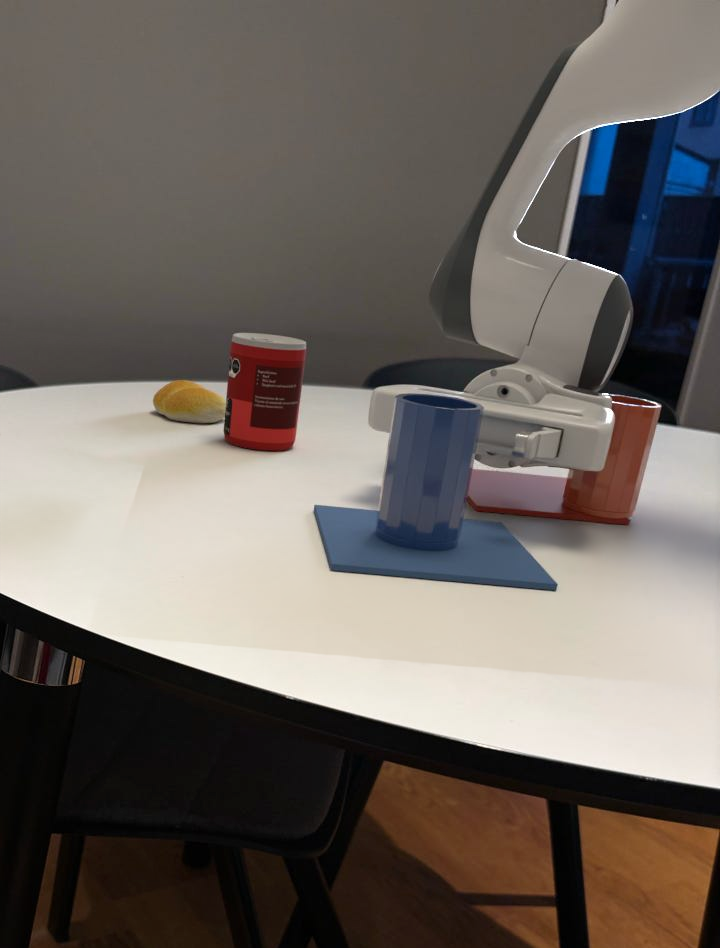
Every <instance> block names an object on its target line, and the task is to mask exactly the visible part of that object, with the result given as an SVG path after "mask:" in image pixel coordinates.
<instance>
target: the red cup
mask: <svg viewBox="0 0 720 948" xmlns="http://www.w3.org/2000/svg"><path fill="white" fill-rule="evenodd" d="M598 393H599V394H602V393H600V392H598ZM603 394H604V395H608V396H610V397H611V398H612V409H611V411H613V413H614V415H615V424H614V428H613V433H612V438H611V442H610V447H609V450H608V454H607V458H606V462H605V466H604V468H603V469H602V470H601V471H597V472H596V471H584V470H573V469H568V473H567V476H566V478H567V482H566V486H565V490H564V495H563V500H562V504H563V505H564V506H565V507H567V508H569V509H571V510H573V511H576V512H580V513H583V514H587V515H592V516H597V517H603V518H613V519H625V518H628V519H630V518H633V517H634V515H635V511H636V508H637V504H638V500H639V496H640V492H641V488H642V484H643V481H644V477H645V473H646V469H647V464H648V462H649V457H650V453H651V449H652V445H653V441H654V437H655V434H656V429H657V426H658V423H659V422H658V421H659V418H660V414H661V410H662V407H663V406H662V404H661V403H658V402H657V401H652V400H648V399H644V398H639V397H633V396H628V395H627V396H626V395H621V394H612V393H603Z"/></svg>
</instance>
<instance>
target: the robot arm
mask: <svg viewBox="0 0 720 948" xmlns="http://www.w3.org/2000/svg"><path fill="white" fill-rule="evenodd" d="M718 92H720V0H618V1H617V2H616V4H615V6H614V7H613V9H612V10H611V11H610V13H609V14H608V15H607V17H606V18H605V19H604V21H603V22H602V23H601V24H600V25H599V26H598V28H597V29H595V31H594V32H593V33H591V34H590V36H588V37H587V38H586V39H584V40H581V41H580V40H579V41H578V42H574V43H571V44H569V45H567V46H566V47H565V48H564V49H563V50H562V51H561V52H560V54H559V55H558V56H557V58H556V59H555V60H554V61H553V63H552V64H551V66H550V67H549V69H548V70H547V72H546V73H545V75H544V77H543V78H542V80H541V81H540V83H539V85H538V87H537V88H536V90H535V91H534V94H533V96H532V97H531V99H530V100H529V103H528V105H527V106H526V108H525V110H524V111H523V113H522V116H521V117H520V119H519V121H518V123H517V125H516V127H515V129H514V130H513V132H512V134H511V136H510V137H509V140H508V142H507V144H506V146H505V148H504V149H503V151H502V153H501V155H500V157H499V159H498V161H497V163H496V165H495V166H494V169H492V170H493V171H492V172H491V174H490V176H489V178H488V180H487V182H486V184H485V186H484V187H483V190H482V192H481V193H480V195H479V197H478V199H477V201H476V203H475V205H474V207H473V208H472V210H471V212H470V214H469V215H468V217H467V219H466V221H465V223H464V224H463V226H462V228H461V229H460V231H459V232H458V234H457V235H456V237H455V238H454V240H453V242H452V244H451V245H450V246H449V248H448V249H447V251H446V254H445V255H444V257H443V258H442V259H441V262H440V264H439V265H438V267H437V269H436V271H435V273H434V276H433V279H432V282H431V285H430V288H429V293H428V303H429V306H430V310H431V312H432V315H433V317H434V319H435V321H436V323H437V325H438V327H439V328H440V330H441V331H442V333H443V334H444V336H445V337H446V338H448V339H452V340H454V341H455V340H456V341H459V342H463V343H467V344H471V345H474V346H478V347H486V348H489V349H490V350H494V351H496V352H499V353H503V354H504V355H506V356H507V355H508V356H510V357H513V358H516V359H519V360H517V362H514V363H511V364H506V365H503V366H499V367H495V368H491V369H488V370H486V371H484V372H481V373H480V374H479V375H477V376H475V377H474V378H473V379H472V380H471V381H470V382H469V383H468V384H467V385H466V386H465V388H464V389H463V390H462V391H458V390H451V389H446V388H440V387H433V386H427V385H419V384H391V385H382V386H378V387H376V388H374V389H373V391H372V393H371V397H370V403H369V408H368V418H367V419H368V421H367V424H368V426H369V428H371V429H372V430H373V431H377V432H382V433H387V434H390V427H391V421H392V414H393V408H394V401H395V396H396V395H399V394H407V393H416V394H431V395H440V396H447V397H453V398H459V399H464V400H468V401H472V402H475V403H478V404H481V405H482V406H483V407H484V411H483V416H482V421H481V427H480V432H479V437H478V443H477V448H476V453H475V459H474V461H476V462H478V463H479V464H482V465H484V466H487V467H491V468H495V469H513V468H516V467H520V468H535V467H548V468H557V469H558V468H559V469H567V470H569V469H573V470H584V471H596V472H597V471H601V470H602V469H603V468H604V466H605V462H606V458H607V454H608V450H609V447H610V442H611V438H612V433H613V428H614V424H615V415H614V413H613V411H611V409H612V398H611V397H610V396H608V395H604V394H605V393H601V394H599V393H600V392H599V391H601V390H602V389H603V388H604V387H605V386H606V384H607V383H608V382H609V380H610V379H611V377H612V376H613V373H614V372H615V370H616V368H617V366H618V363H619V362H620V359H621V357H622V356H623V353H624V350H625V348H626V345H627V343H628V340H629V337H630V333H631V330H632V326H633V320H634V306H633V301H632V298H631V294H630V290H629V287H628V285H627V282H626V281H625V279H624V278H623V276H622V275H621V274H620V273H619V274H618V273H616V272H613V271H610V270H607V269H605V268H602V267H599V266H596V265H593V264H590V263H587V262H583V261H580V260H578V259H576V258H574V259H571V258H569V257H565V256H562V255H559V254H557V253H553V252H550V251H547V250H545V249H544V250H543V249H541V248H539V247H535V246H532V245H528V244H526V243H523V242H522V241H520V240H519V239H518V237H517V230H518V228H519V226H520V225H521V223H522V221H523V219H524V218H525V216H526V214H527V211H528V210H529V208H530V207H531V205H532V202H533V201H534V199H535V197H536V195H537V194H538V193H539V190H540V189H541V186H542V184H543V183H544V181H545V179H546V178H547V176H548V174H549V172H550V170H551V168H552V167H553V165H554V163H555V161H556V159H557V157H559V154H560V153H561V151H562V150H563V149H564V148H565V147H566V145H568V144H569V143H570V142H571V141H573V140H574V139H576V137H578V136H580V135H582V134H584V133H586V132H589V131H590V130H593V129H594V130H595V129H596V128H600V127H604V126H609V125H614V124H621V123H628V122H629V123H630V122H635V121H644V120H651V119H652V120H653V119H658V118H663V117H664V118H665V117H668V116H672V115H675V114H679V113H683V112H685V111H687V110H690V109H692V108H694V107H696V106H698V105H700V104H702V103H704V102H705V101H707V100H709V99H711V98H712V97H713V96H715V95H716V94H718Z"/></svg>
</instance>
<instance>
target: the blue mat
mask: <svg viewBox="0 0 720 948" xmlns="http://www.w3.org/2000/svg"><path fill="white" fill-rule="evenodd" d="M313 512H314V515H315V519H316V522H317V526H318V529H319V533H320V536H321V539H322V544H323V547H324V551H325V553H326V557H327V560H328V563H329V567H330V570H331V571H334V572H344V573H345V572H346V573H356V574H357V573H358V574H369V575H380V576H389V577H391V576H392V577H402V578H403V577H404V578H413V579H424V580H435V581H436V580H437V581H447V582H456V583H457V582H459V583H469V584H481V585H491V586H501V587H502V586H503V587H512V588H524V589H535V590H545V591H546V590H547V591H557V589H558V583H557V581H555V579H554V578H553V577H552V576H551V575H550V574H549V573H548V572H547V570H545V568H544V567H543V566H542V565H541V564H540V563H539V562H538V561H537V560H536V558H535V557H534V556H533V555H532V554H531V553H530V552H529V551H528V550H527V548H526V547H525V546H524V545H523V544H522V543H521V542H520V541H519V540H518V538H516V536H515V535H514V534H513V533H512V532H511V531H510V530H509V529H508V527H506V525H505V524H504V523H503V522H502V521H495V520H484V519H483V520H482V519H475V518H474V519H473V518H465V517H464V518H463V523H462V529H461V534H460V537H459V540H458V545H457V546H456V547H455V548H453V549H449V550H442V551H428V550H417V549H411V548H406V547H401V546H397V545H394V544H391V543H388V542H386V541H384V540H382V539H380V538H379V537H378V536H377V535H376V534H375V530H376V519H377V513H378V509H366V508H356V507H354V508H353V507H346V506H345V507H343V506H335V505H334V506H333V505H322V504H314V506H313Z"/></svg>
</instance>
